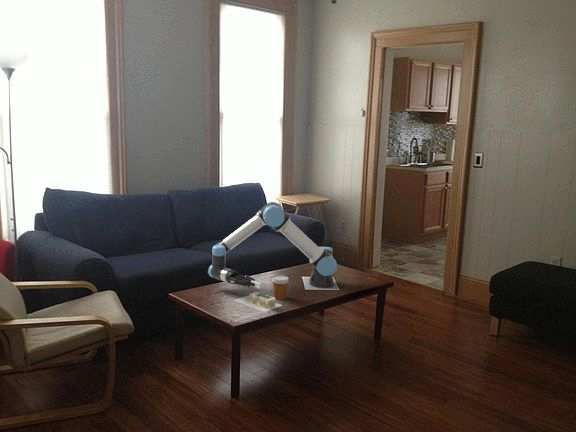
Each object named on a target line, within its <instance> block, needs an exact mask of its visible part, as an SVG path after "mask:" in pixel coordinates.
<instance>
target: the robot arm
mask: <svg viewBox="0 0 576 432" xmlns="http://www.w3.org/2000/svg"><path fill="white" fill-rule="evenodd" d="M263 226H269V227H271V228H272V229H273V230H274V231H275V232H280V233H281V234H283V236H285V238H286V239H287V240H289V241H290V242H291V243H292V244H293V245H294V246H295V247H296V248H298V250H300V252H301V253H303V254H304V255H305V256H306V257H307V258H308V259H309V263H310V264H311V265H312V271H311V274H310V277H309V279H308V281H309V282H308V283H309V285H310V286H312V287H316V288H330V287H333V286H334V285H335V281H334V280H335V279H334V276H333V274H334V273H335V272H336V271H337V268H338V265H337V260H336V259H335V257H334V256H333V254H334V251H333V247H329V246H318V245H317V244H316V243H315V242H314V241H313V240H312V239H310V237H308V235H306V234H305V233H304V232H303V231H302V230H301V229H300V228H299V227H298V226H297V225H296V224H295V223H293V221H292V220H291V216H290V215H289V214H288V213H287V212H286V211H285V210H283V208H282V205H280V204H279V203H278V202H275V201H271V202H268V203H266V204H265V205H264V206H263V207H261V209H259V210H258V211H257V212H256V214H255V215H254V216H253V217H251V218H250V219H249V220H247V221H246V222H245V223H244V224H242V225H241V226H240V227H238V228H237V229H236V230H235V231H233V232H232V233H230V234H229V235H228V236H227V237H225V238H224V239H223V240H221V241H219V242H217V243H216V244H215V245H213V246H212V251H211V253H212V254H211V255H212V256H211V258H212V259H211V260H212V261H211V262H212V264H210V266H209V267H208V270H207V274H208V276H209V277H211V278H213V279H215V280H219V281H223V282H225V283H228V284H231V285H238V286H242V287H248V288H250V287H253V288H256V289H262V282H258V281H256V279H255V278H254V277H251V276H250V275H248V274H245V275H243V274H240V273H239V271H236V270H233V269H231V268H227V267H226V254H228V253H229V252H230V251H232V250H233V249H234V248H235V247H237V246H238V245H239V244H240V243H242V242H243V241H245V240H247V238H248V237H250V236H251V235H253V234H254V233H255V232H257V231H258V230H260V229H261V228H262V227H263Z"/></svg>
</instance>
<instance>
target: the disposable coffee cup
mask: <svg viewBox="0 0 576 432" xmlns="http://www.w3.org/2000/svg"><path fill="white" fill-rule="evenodd" d="M289 279H290V278H289V277H288V276H285V275H275V276H272V279H271V280H272V281H271V282H272V287H273V297H274V298H275V300H279V301H281V300H285V299H286V297H287V291H288V285H289V282H290V280H289Z"/></svg>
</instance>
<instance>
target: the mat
mask: <svg viewBox="0 0 576 432" xmlns="http://www.w3.org/2000/svg"><path fill="white" fill-rule="evenodd" d="M233 302H236V303H239V304H241V305H244V306H247V307H249V308H252V309H256V310H258V311H260V312H261V311H262V312H263V313H265V312H268V311H271V310H274V309H277V308H279V307H282V306H283V304H280V303H278V302H275V307H274V308H271V309H266V308H264V307H261V306H258V305H255V304H252V303H250V294H249V295H246V296H242V297H239V298H236V299H233Z"/></svg>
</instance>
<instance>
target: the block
mask: <svg viewBox="0 0 576 432" xmlns="http://www.w3.org/2000/svg"><path fill="white" fill-rule="evenodd" d="M249 295H250V303H252V304H255V305H258V306H261V307H264V308H266V309H271V308H274V307H275V303H276V299H275V298H274V296H270V295H267V294H265V293H262V292H259V291H256V292H255V291H254V292H252V293H249ZM274 309H275V308H274ZM271 310H272V309H271Z"/></svg>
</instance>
